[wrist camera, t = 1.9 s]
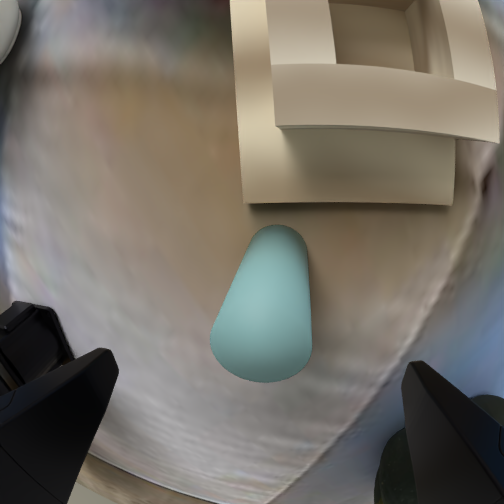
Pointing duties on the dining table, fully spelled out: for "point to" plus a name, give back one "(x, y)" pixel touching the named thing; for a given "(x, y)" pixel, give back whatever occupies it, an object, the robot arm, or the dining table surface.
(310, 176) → the socket board
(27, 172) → the dining table surface
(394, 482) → the squash
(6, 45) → the lidded jar
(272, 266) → the peg
